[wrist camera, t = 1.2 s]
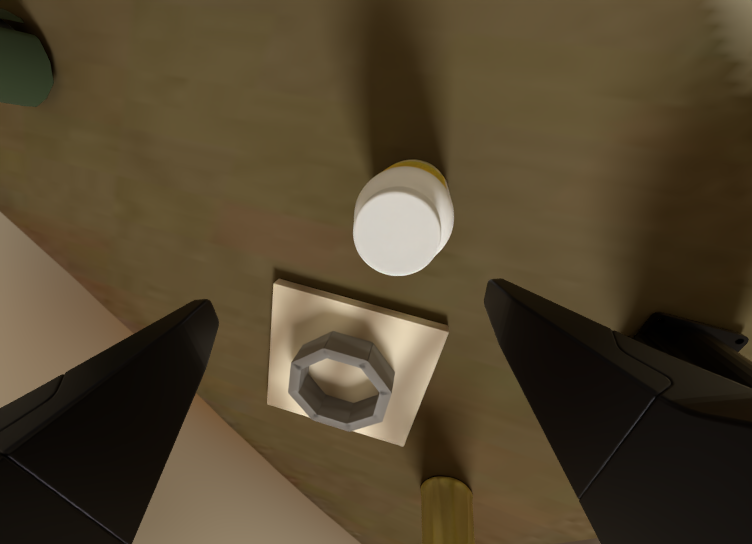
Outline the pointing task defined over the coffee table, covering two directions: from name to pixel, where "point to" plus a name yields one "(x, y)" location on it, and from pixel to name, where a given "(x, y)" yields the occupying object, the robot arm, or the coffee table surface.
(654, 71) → the coffee table surface
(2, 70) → the character mug
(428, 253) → the supplement bottle
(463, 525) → the vase
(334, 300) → the socket plate
